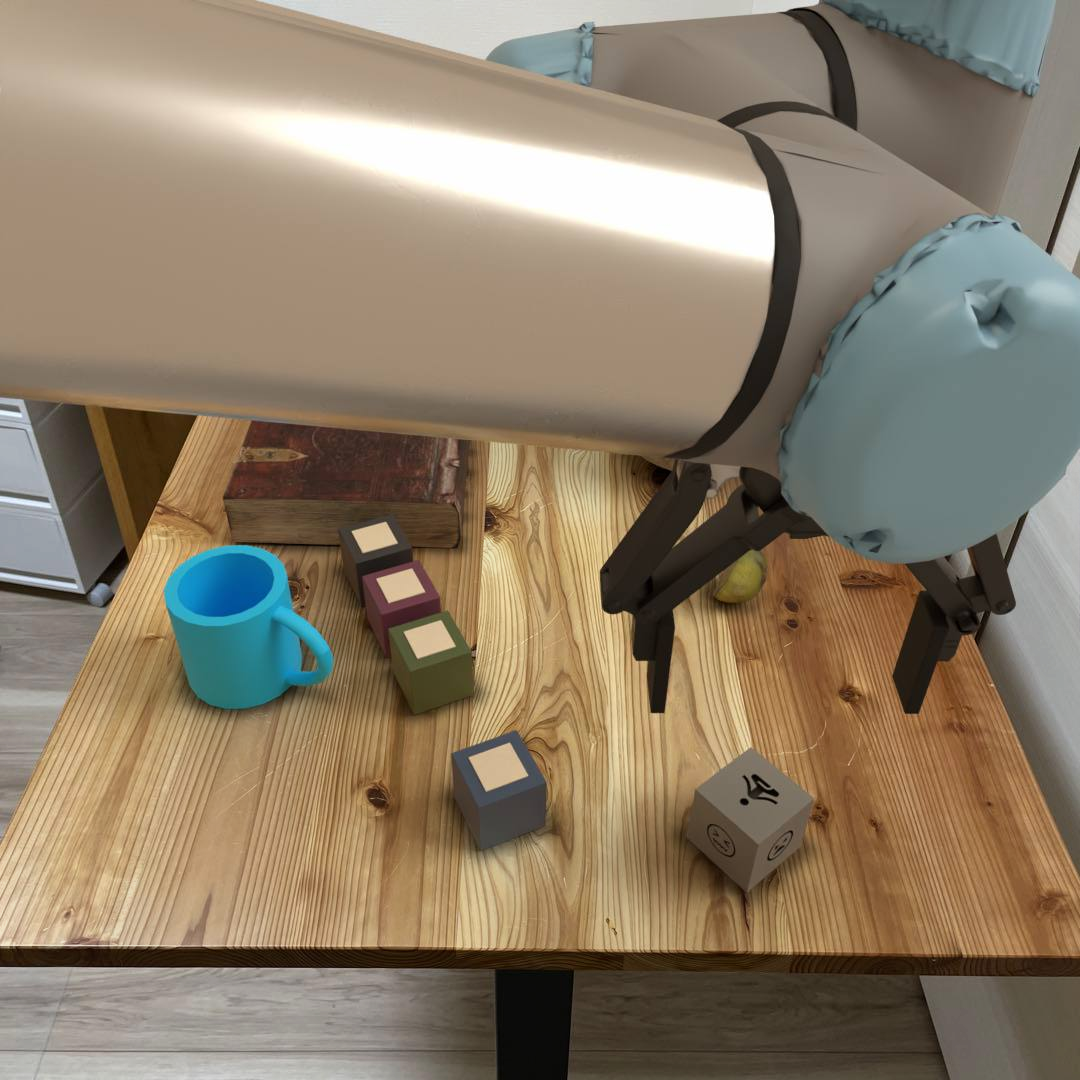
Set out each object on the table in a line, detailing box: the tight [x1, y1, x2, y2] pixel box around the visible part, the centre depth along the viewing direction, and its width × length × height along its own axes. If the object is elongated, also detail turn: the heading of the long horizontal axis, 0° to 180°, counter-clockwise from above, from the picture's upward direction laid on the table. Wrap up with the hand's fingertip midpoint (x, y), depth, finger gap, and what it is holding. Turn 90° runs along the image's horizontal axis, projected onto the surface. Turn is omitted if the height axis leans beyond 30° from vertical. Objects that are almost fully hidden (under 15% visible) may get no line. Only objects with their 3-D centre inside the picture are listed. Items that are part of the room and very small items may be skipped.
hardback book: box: [222, 420, 471, 549], centre depth 98 cm, size 29×19×5 cm, turn 0°
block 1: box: [338, 514, 414, 607], centre depth 84 cm, size 4×4×5 cm
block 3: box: [388, 610, 474, 716], centre depth 75 cm, size 4×4×5 cm
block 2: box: [362, 559, 442, 659], centre depth 79 cm, size 4×4×5 cm
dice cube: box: [686, 746, 815, 894], centre depth 65 cm, size 5×5×5 cm
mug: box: [163, 544, 334, 710], centre depth 75 cm, size 12×8×8 cm
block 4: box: [450, 729, 548, 852], centre depth 67 cm, size 4×4×5 cm
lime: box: [713, 550, 768, 604], centre depth 83 cm, size 4×5×5 cm
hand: (780, 695), depth 58 cm, fingers open, 13 cm apart
